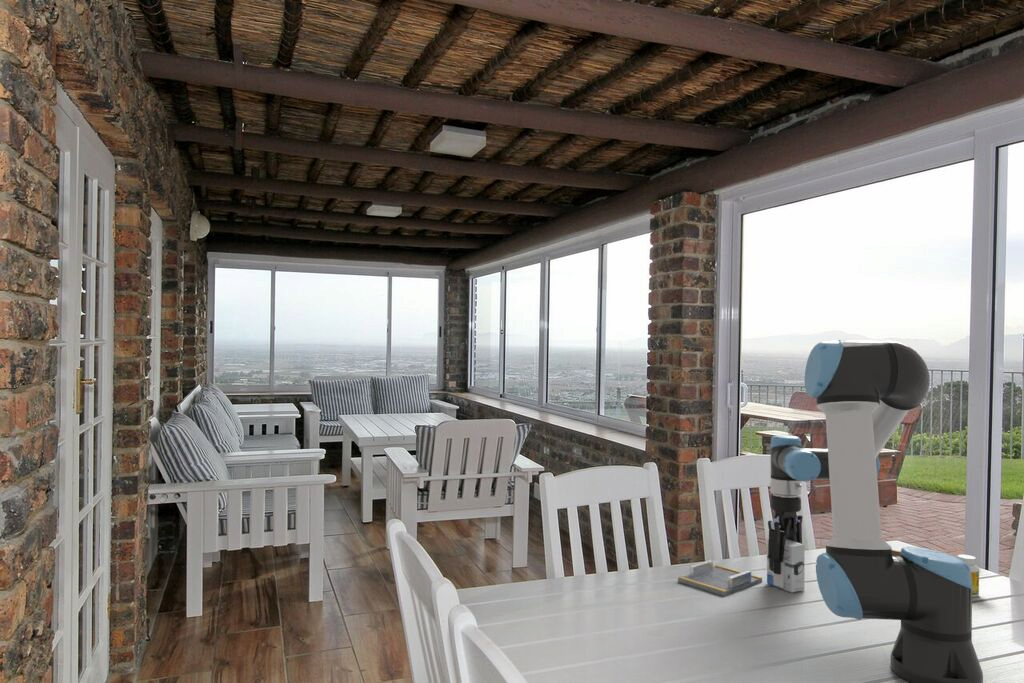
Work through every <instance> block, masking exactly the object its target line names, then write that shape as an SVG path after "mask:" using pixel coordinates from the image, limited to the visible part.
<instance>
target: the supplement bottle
mask: <svg viewBox="0 0 1024 683" xmlns="http://www.w3.org/2000/svg"><path fill="white" fill-rule="evenodd" d="M956 558H958V559H960V560H962V561H964V562H965V563H966V564H967V565H968V566H969V567H970V569H971V576H972V586H973V589H972V598H977V597H979V595H980V593H979V592H980V569H979V566H978V565H976V563H977V558H976V557H975V556H974V555H969V554H958V555H957V557H956Z"/></svg>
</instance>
